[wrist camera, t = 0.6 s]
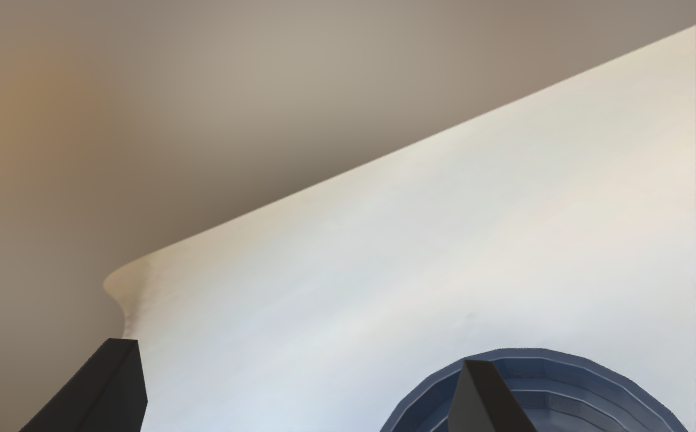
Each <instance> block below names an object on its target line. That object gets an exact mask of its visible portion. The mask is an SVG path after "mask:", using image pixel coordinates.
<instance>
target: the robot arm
mask: <svg viewBox="0 0 696 432" xmlns="http://www.w3.org/2000/svg"><path fill="white" fill-rule="evenodd" d="M147 403H148V400H147V394H146V388H145V382H144V376H143V370H142V364H141V358H140V352H139V346H138V340H131V339H114V338H109V339H107V340H106V341H105V342H104V343H103V344H102V345H101V346H100V347H99V348H98V350H97V351H96V352H95V353H94V354H93V355H92V356H91V357H90V358H89V359H88V361H87V362H86V363H85V364H84V365H83V366H82V367H81V368H80V370H78V372H77V373H76V374H75V375H74V376H73V377H72V378H71V379H70V380H69V381H68V382H67V383H66V384H65V385H64V386H63V387H62V389H61V390H60V391H59V392H58V393H57V394H56V395H55V396H54V397H53V398H52V399H51V400H50V401H49V402H48V403H47V404H46V405H45V406H44V407H43V408H42V409H41V410H40V411H39V412H38V413H37V414H36V415H35V416H34V417H33V418H32V419H31V420H30V421H29V422H28V423H27V424H26V425H25V426H24V427H23V428H22V429H21V430H20V431H19V432H140V430H141V426H142V422H143V419H144V415H145V411H146V407H147ZM447 419H448V430H449V432H538V431H537V430H536V428H535V427H534V425H533V424H532V422H531V421H530V419H529V418H528V416H527V415H526V413H525V412H524V410H523V409H522V407H521V406H520V404H519V403H518V401H517V400H516V398H515V397H514V395H513V393H512V392H511V390H510V389H509V387H508V385H507V384H506V382H505V381H504V379H503V377H502V376H501V374H500V373H499V371H498V369H497V368H496V366H495V365H494V364H493V362H492V361H484V360H467V359H464V363H463V366H462V369H461V373H460V376H459V380H458V383H457V387H456V390H455V394H454V397H453V400H452V404H451V407H450V411H449V414H448V418H447Z"/></svg>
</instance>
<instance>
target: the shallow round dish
mask: <svg viewBox="0 0 696 432" xmlns="http://www.w3.org/2000/svg"><path fill="white" fill-rule="evenodd" d="M464 359H467V360H484V361H492V362H493V364H494V365H495V366H496V368H497V369H498V371H499V373H500V374H501V376H502V377H503V379H504V381H505V382H506V384H507V385H508V387H509V389H510V390H511V392H512V393H513V395H514V397H515V398H516V400H517V401H518V403H519V404H520V406H521V407H522V409H523V410H524V412H525V413H526V415H527V416H528V418H529V419H530V421H531V422H532V424H533V425H534V427H535V428H536V430H537V431H538V432H688V431H687V430H686V428H685V427H684V426H683V425H682V424H681V422H680V421H679V420H678V419H677V417H676V416H675V415H674V414H673V413H671V411H670V410H669V409H668V408H666V407H665V406H664V405H662V404H661V403H660V402H659V401H657V400H656V399H655V398H653V397H652V396H651V395H650V394H648V393H647V392H646V391H645V390H643V389H642V388H641V387H639V386H638V385H637V384H636V383H634V382H633V381H632V380H630V379H628V378H626V377H624V376H622V375H620V374H618V373H616V372H614V371H612V370H610V369H608V368H605V367H603V366H601V365H599V364H597V363H595V362H593V361H591V360H589V359H586V358H583V357H579V356H575V355H570V354H566V353H562V352H557V351H553V350H549V349H542V348H503V349H497V350H493V351H489V352H485V353H480V354H476V355H472V356H468V357H464V358H462V359H460V360H458V361H456V362H454V363H452V364H450V365H449V366H447V367H445V368H443V369H441V370H439V371H437V372H435V373H433V374H432V375H430V376H429V377H427V378H426V379H425V380H424V381H422V382H421V383H420V384H419V385H418V386H417V387H416V388H415V389H414V390H412V391H411V392H410V393H409V394H408V395H407V396H406V397H405V398H404V399H402V400H401V401H400V403H399V404H398V405H397V407H396V408H395V410H394V411H393V413H392V414H391V416H390V417H389V419H388V420H387V422H386V423H385V424H384V426H383V427H382V429H381V430H380V432H449V430H448V419H447V418H448V414H449V411H450V407H451V404H452V400H453V397H454V394H455V390H456V387H457V383H458V380H459V376H460V373H461V369H462V366H463V363H464Z"/></svg>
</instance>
